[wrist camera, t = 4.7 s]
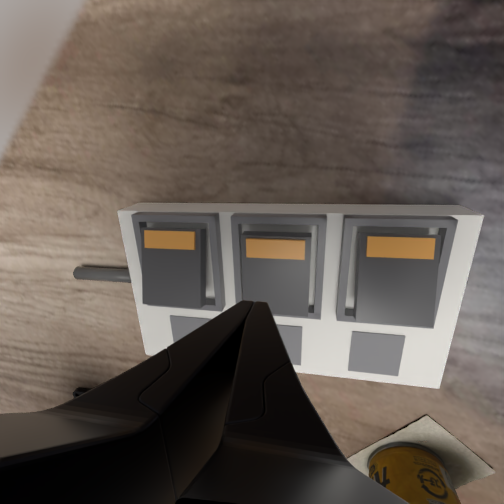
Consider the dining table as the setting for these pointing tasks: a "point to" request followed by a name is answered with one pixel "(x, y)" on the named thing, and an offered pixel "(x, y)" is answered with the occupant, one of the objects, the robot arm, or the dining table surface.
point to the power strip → (311, 282)
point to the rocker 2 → (396, 278)
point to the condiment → (421, 464)
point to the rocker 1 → (174, 266)
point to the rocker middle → (277, 270)
